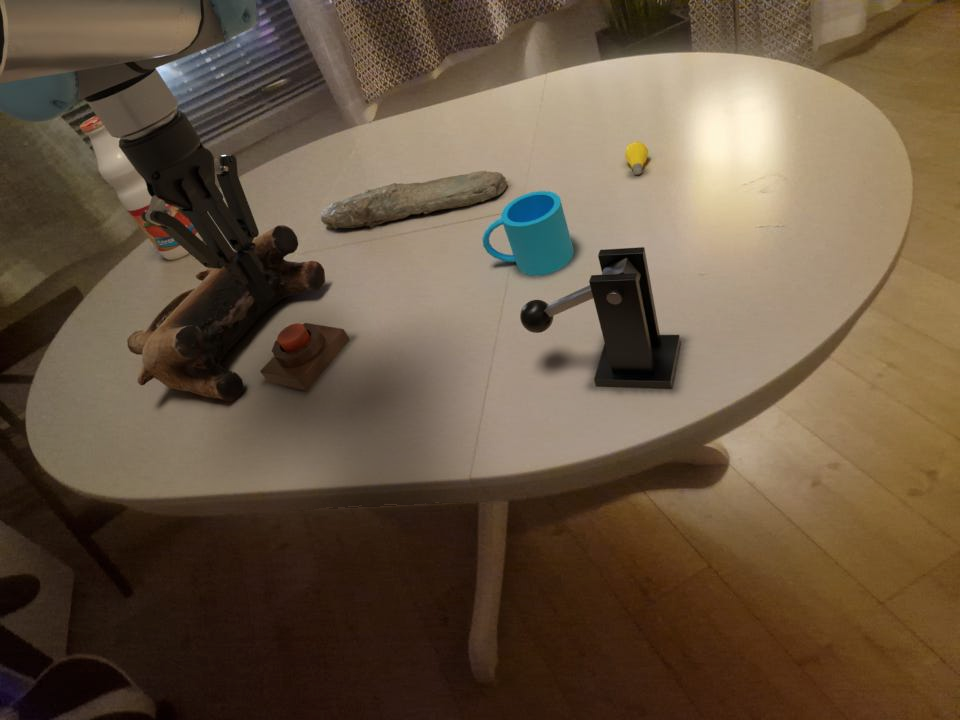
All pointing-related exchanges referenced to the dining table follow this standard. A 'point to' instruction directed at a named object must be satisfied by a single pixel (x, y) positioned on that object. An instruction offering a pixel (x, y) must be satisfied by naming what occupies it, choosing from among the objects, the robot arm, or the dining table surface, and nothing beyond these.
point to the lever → (565, 301)
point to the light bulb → (636, 156)
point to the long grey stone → (413, 199)
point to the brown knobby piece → (218, 320)
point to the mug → (534, 234)
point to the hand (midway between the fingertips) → (265, 297)
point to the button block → (305, 358)
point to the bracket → (631, 327)
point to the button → (293, 337)
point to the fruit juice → (131, 188)
